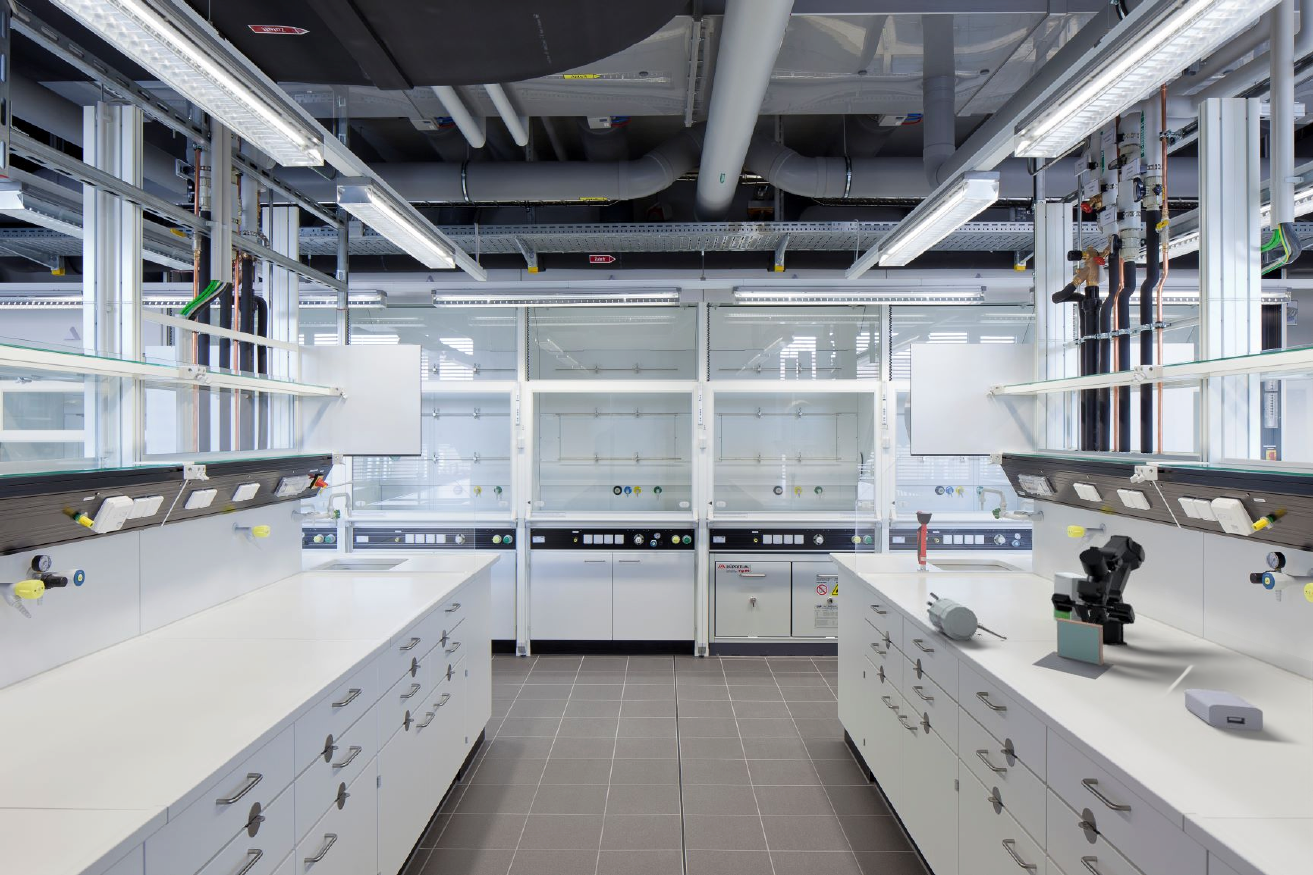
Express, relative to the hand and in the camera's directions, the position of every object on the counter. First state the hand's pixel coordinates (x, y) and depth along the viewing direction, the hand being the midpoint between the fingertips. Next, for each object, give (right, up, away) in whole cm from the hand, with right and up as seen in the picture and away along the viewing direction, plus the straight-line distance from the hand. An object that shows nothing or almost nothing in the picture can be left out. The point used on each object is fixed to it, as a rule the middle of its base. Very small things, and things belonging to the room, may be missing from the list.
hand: (1085, 633), depth 172 cm
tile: (-4, -6, -3) cm, 8 cm away
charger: (+3, -7, -36) cm, 37 cm away
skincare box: (+19, -7, +35) cm, 41 cm away
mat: (-8, -7, -7) cm, 12 cm away
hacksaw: (-14, -8, +24) cm, 28 cm away
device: (-26, -7, +30) cm, 40 cm away
